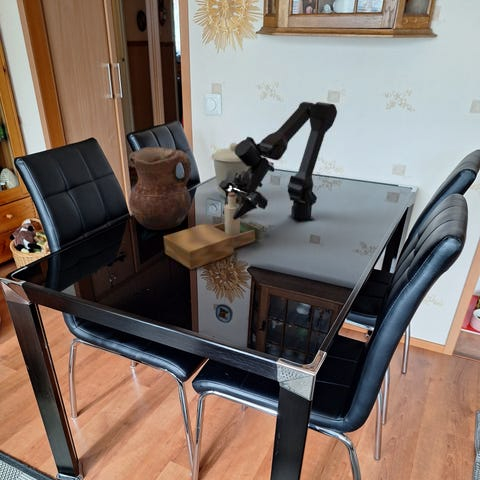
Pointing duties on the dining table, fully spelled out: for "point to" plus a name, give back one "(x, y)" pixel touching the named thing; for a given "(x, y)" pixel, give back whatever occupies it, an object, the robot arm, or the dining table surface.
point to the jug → (160, 188)
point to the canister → (227, 165)
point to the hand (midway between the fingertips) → (228, 216)
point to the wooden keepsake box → (199, 245)
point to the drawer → (245, 232)
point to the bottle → (231, 216)
